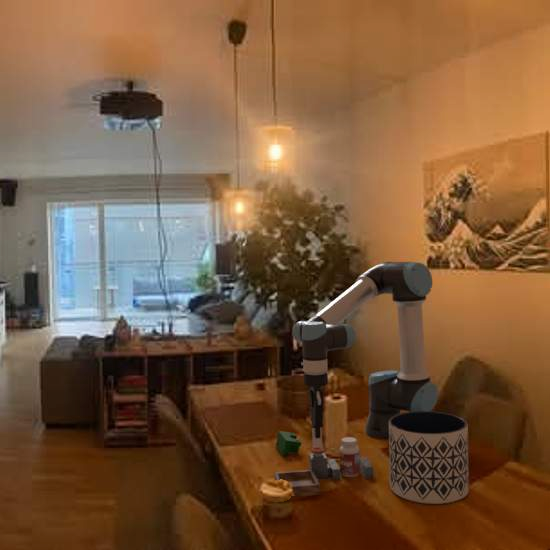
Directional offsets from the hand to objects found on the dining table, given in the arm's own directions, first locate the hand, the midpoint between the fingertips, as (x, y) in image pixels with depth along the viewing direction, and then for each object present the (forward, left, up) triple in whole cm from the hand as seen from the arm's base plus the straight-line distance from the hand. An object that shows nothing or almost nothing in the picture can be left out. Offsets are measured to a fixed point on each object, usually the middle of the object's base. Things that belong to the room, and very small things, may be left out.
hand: (317, 446), depth 199 cm
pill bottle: (-10, 0, -10) cm, 14 cm away
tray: (+8, +8, -9) cm, 15 cm away
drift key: (0, 0, -7) cm, 7 cm away
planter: (-30, +16, -10) cm, 35 cm away
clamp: (+6, -25, -10) cm, 28 cm away
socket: (-7, 0, -9) cm, 12 cm away
